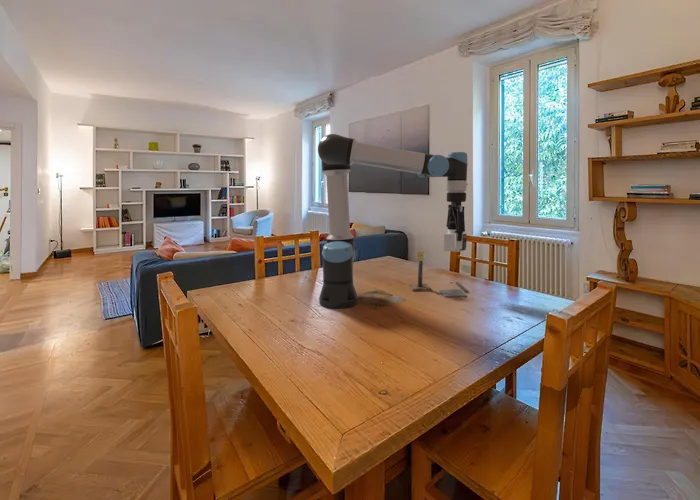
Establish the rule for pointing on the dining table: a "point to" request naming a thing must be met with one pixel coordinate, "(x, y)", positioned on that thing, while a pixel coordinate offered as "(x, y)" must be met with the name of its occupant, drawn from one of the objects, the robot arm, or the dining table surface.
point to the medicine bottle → (452, 239)
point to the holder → (425, 286)
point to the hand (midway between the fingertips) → (454, 246)
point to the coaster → (453, 293)
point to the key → (421, 255)
